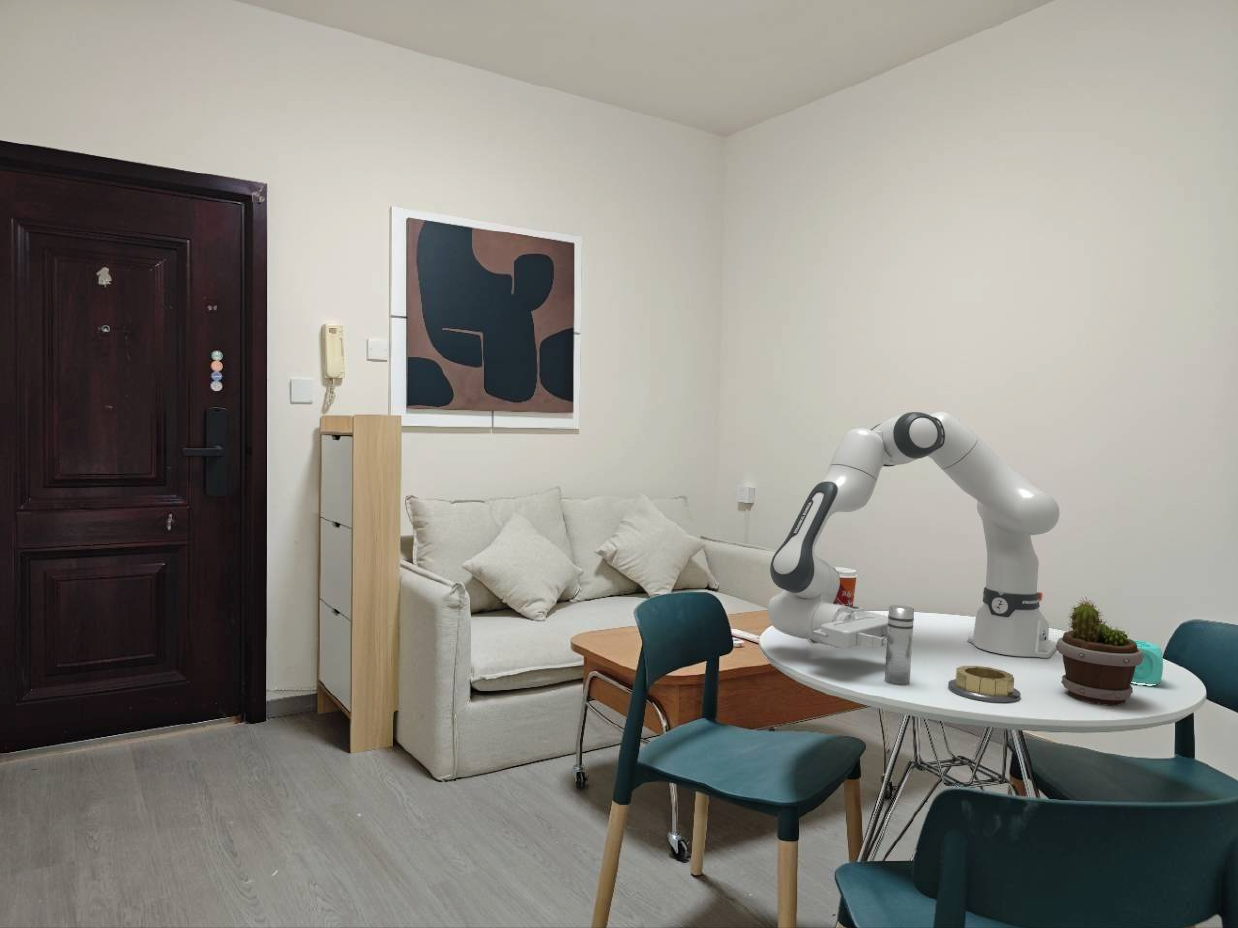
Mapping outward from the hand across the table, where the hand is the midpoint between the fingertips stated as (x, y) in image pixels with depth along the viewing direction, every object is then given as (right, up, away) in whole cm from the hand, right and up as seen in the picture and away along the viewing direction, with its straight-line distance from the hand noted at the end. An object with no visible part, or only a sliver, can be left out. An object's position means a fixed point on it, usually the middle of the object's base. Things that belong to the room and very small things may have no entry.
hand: (894, 638), depth 172 cm
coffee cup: (0, -7, +46) cm, 47 cm away
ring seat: (+16, -9, -5) cm, 19 cm away
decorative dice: (+54, -11, +8) cm, 55 cm away
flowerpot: (+38, -11, -5) cm, 39 cm away
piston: (0, -8, -1) cm, 8 cm away
